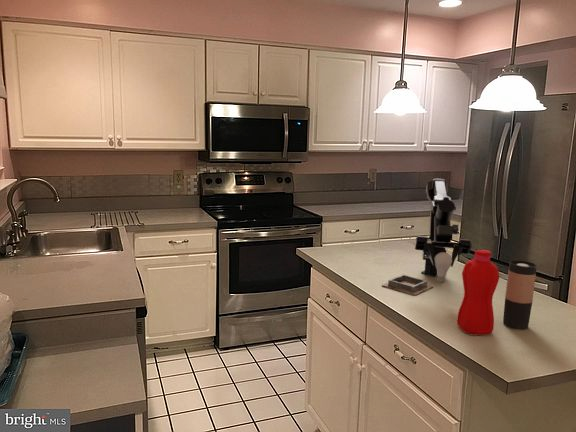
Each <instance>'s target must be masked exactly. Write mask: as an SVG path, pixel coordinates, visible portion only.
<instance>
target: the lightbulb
mask: <svg viewBox="0 0 576 432" xmlns="http://www.w3.org/2000/svg"><path fill="white" fill-rule="evenodd" d="M434 260H435V263H434V264H435V266H436V269H437V275H438V276H436V277H437V279H436V280H437V282H438V283H441V284H442V283H444V282H445V281H446V277H447V274H448V271H449V269H450V268H451V265H452V255H450V254H449V253H447V252H446V253H445V252H441V253H438V254H437V255H436V256H435V258H434Z"/></svg>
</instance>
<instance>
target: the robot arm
mask: <svg viewBox="0 0 576 432" xmlns="http://www.w3.org/2000/svg"><path fill="white" fill-rule="evenodd" d="M425 188H426V189H425V194H427V195H426V197H427V200H428V202H429V203H430V213H429V214H430V217H429V236H423V235H417V236H416V237H415V243H414V246H415V247H414V249H415V250H416V251H422V253H421V254H422V255H421V257H422V260H424V261H425V262H424V263H425V264H424V270H422V271H420V273H421V274H424V275H426V276H430V277H431V276H432V277H438V275H437V269H436V266H435V264H434V263H435V260H434V258H435V256H436V255H437V254H438V253H441V252H445V253H447V250H446V249H448V248H449V249H452V252H451V258H452V265H451V266H450V268H453V267H454V265H455V264H454V263H455V260H456V258H458V256H461V255H462V254H464V255H468V254H470V252H471V249H472V246H473V245H472V241H471V239H465V238H459V240H458V242H452V240H453V235H458V234H459V224H452V223H451V222H452V221H451V220H452V218H453V215H454V212H455V211H456V210H457V206H456V205H455V203H454V201H453V200H452V197H450V196H448V195H447V194H448V192H449V191H448V189H449V183H448V182H447V180H446V179H444V178H433V179H432V180H431V181H428V182H427V184H426V186H425ZM451 224H452V225H451Z"/></svg>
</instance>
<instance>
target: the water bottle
mask: <svg viewBox="0 0 576 432" xmlns="http://www.w3.org/2000/svg"><path fill="white" fill-rule="evenodd" d="M491 254H492V252H491V251H490V250H487V249H478V250H475V251H474V258H473V259H470V260H468V261H467V262H465V264H464V266H463V269H462V272H461V277H462V283H463V284H462V285H463V291H464V292H463V298H462V301H461V303H460V307H459V309H458V313H457V319H456V324H457V327H458V328H460V329H461V330H462V331H463V332H464V333H466V334H467V335H471V336H488V335H492V333H493V332H494V327H495V326H494V325H495V324H494V323H495V315H494V307H493V297H494V294H495V292H496V289H497V286H498V283H499V282H500V280H499V279H500V274H499V269H498V266H496V264H495V263H493V262H492V261H491Z"/></svg>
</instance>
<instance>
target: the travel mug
mask: <svg viewBox="0 0 576 432" xmlns="http://www.w3.org/2000/svg"><path fill="white" fill-rule="evenodd" d="M508 266H509V267H508V273H507V282H506V290H505V295H504V308H503V320H502V321H503V322H502V324H503V325H504V326H505V327H507V328H509V329H513V330H517V331H524V330H527V329H528V328H529V324H530V317H531V311H532V306H533V301H534V299H533V298H534V290H535V283H536V276H537V267H538V266H537V264H536V263H534V262H530V261H528V260H527V261H526V260H520V259H517V260H515V259H514V260H511V261H509V265H508Z"/></svg>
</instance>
